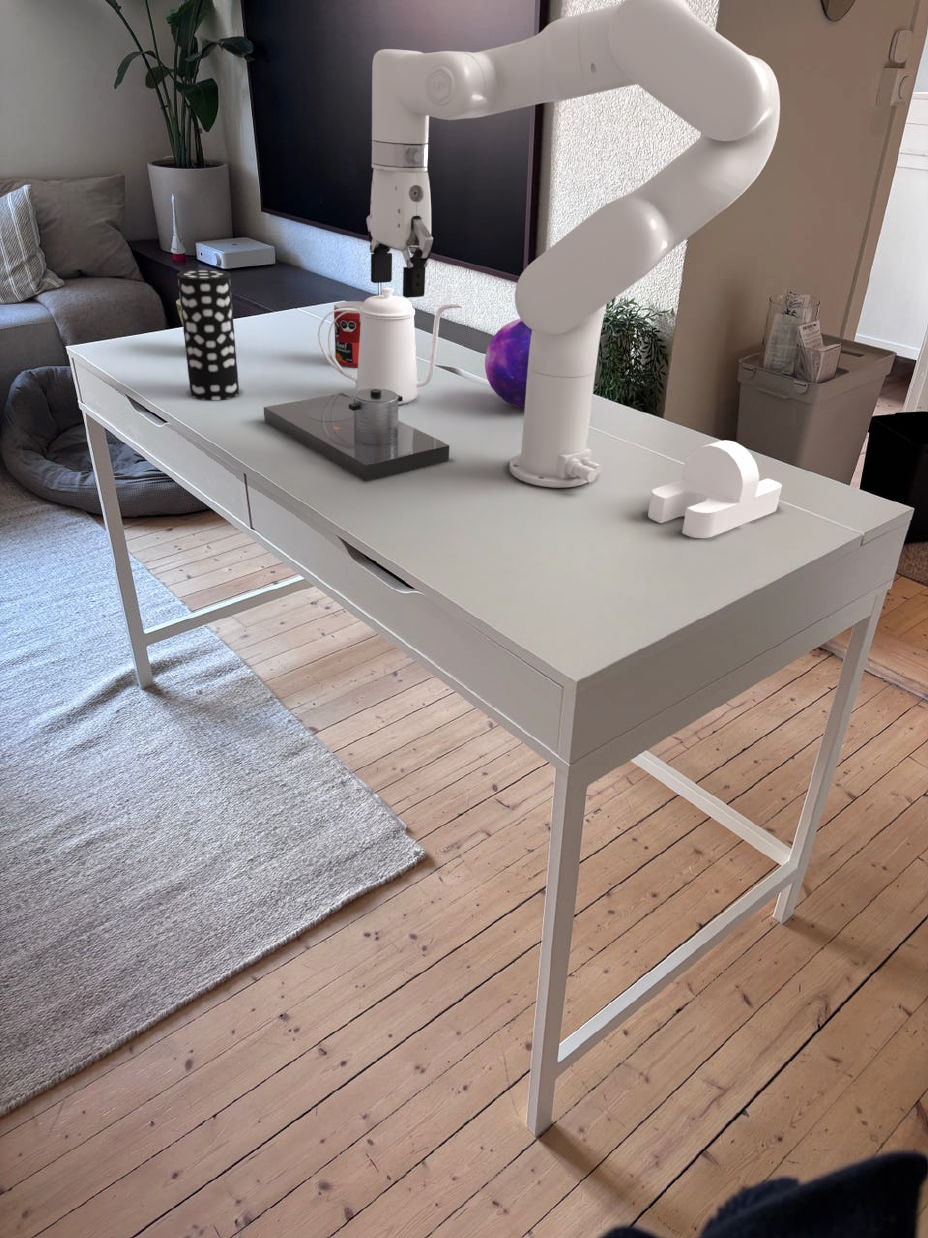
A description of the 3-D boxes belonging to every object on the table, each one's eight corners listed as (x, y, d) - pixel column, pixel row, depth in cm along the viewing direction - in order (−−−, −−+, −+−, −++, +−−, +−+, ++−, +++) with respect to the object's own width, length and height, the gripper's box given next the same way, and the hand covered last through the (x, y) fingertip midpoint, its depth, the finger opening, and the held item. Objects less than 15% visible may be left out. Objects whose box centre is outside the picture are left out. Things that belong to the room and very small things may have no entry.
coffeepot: (456, 412, 161) (461, 299, 151) (314, 401, 163) (309, 289, 153) (462, 393, 170) (467, 286, 161) (327, 383, 172) (324, 276, 162)
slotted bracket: (700, 541, 120) (714, 469, 115) (643, 515, 127) (654, 446, 122) (780, 509, 131) (796, 442, 126) (724, 486, 137) (737, 422, 132)
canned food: (330, 358, 186) (328, 301, 181) (368, 355, 189) (367, 299, 184) (342, 369, 180) (341, 310, 175) (381, 365, 183) (381, 308, 178)
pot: (412, 438, 142) (413, 391, 138) (363, 449, 137) (362, 401, 133) (388, 425, 146) (388, 380, 142) (339, 436, 141) (338, 389, 137)
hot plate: (449, 460, 141) (449, 444, 140) (366, 481, 133) (365, 464, 132) (342, 406, 161) (342, 392, 160) (264, 421, 153) (263, 406, 151)
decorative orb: (494, 388, 174) (499, 305, 166) (574, 398, 171) (582, 314, 163) (473, 412, 161) (477, 323, 154) (558, 423, 158) (566, 333, 150)
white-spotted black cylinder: (191, 401, 160) (177, 279, 150) (189, 386, 167) (177, 269, 157) (240, 399, 162) (230, 278, 152) (237, 384, 169) (227, 268, 159)
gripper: (457, 164, 121) (450, 300, 130) (394, 150, 133) (391, 275, 142) (406, 164, 117) (402, 304, 126) (346, 149, 130) (347, 278, 138)
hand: (397, 289), depth 134 cm, fingers open, 9 cm apart
